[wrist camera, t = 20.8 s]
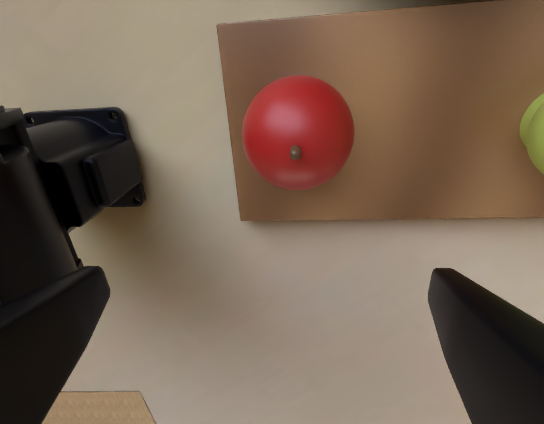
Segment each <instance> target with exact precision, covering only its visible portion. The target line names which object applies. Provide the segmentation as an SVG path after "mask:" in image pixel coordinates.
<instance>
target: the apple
mask: <svg viewBox="0 0 544 424" xmlns="http://www.w3.org/2000/svg"><path fill="white" fill-rule="evenodd" d="M242 142H243V148H244V151H245V154H246V157H247V159H248V161H249V163H250V164H251V166H252V167H253V169H254V170H255V171H256V172H257V173H258V174H259V175H260V176H261V177H262V178H263V179H264V180H266V181H267V182H269V183H271V184H272V185H274V186H277V187H279V188H283V189H287V190H307V189H312V188H315V187H318V186H320V185H322V184H324V183H326V182H327V181H329V180H330V179H331V178H333V177H334V176H335V175H336V174H337V173H338V172H339V171H340V170H341V169H342V167H343V166H344V165H345V163H346V161H347V159H348V158H349V155H350V152H351V150H352V146H353V142H354V122H353V117H352V114H351V111H350V109H349V106H348V104H347V102H346V101H345V99H344V98H343V96H342V95H341V94H340V93H339V92H338V91H337V90H336V89H335V88H334V87H333V86H331V85H330V84H328V83H327V82H325V81H323V80H321V79H318V78H315V77H312V76H305V75H293V76H287V77H283V78H280V79H278V80H275V81H273V82H272V83H270V84H268V85H267V86H265V87H264V88H263V89H262V90H261V91H260V92H259V93H258V94H257V95H256V96H255V97H254V99H253V100H252V102H251V103H250V105H249V107H248V109H247V111H246V114H245V116H244V120H243V125H242Z"/></svg>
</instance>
